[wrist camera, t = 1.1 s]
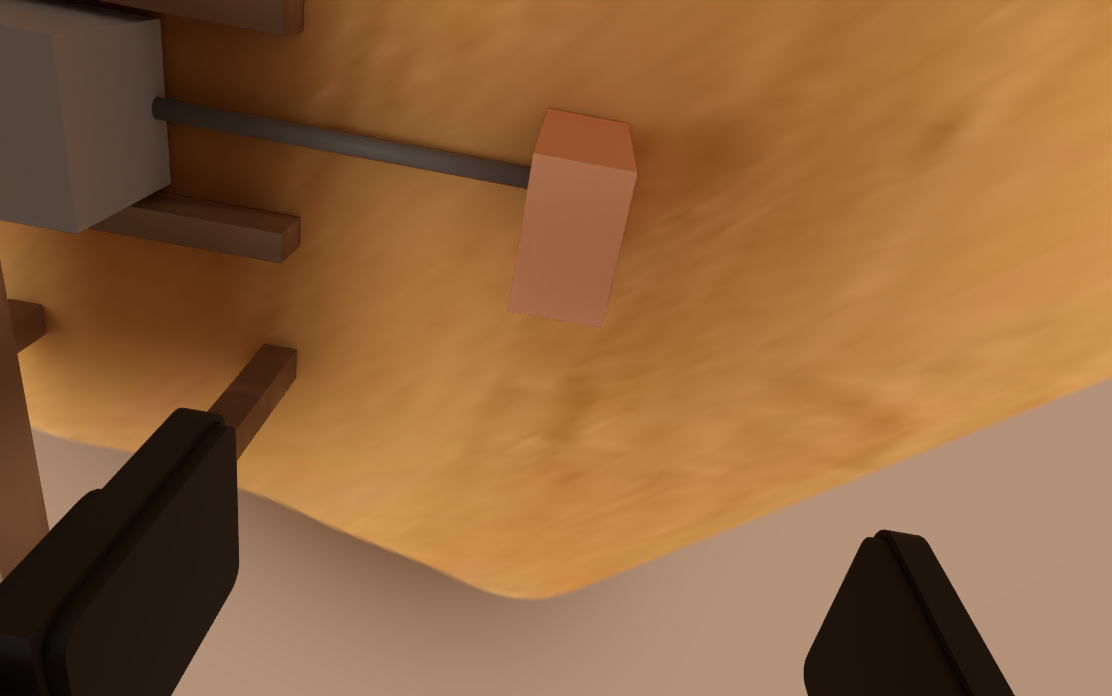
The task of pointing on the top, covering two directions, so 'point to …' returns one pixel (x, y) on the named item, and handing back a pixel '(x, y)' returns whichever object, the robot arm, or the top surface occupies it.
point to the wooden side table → (10, 326)
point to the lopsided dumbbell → (143, 155)
